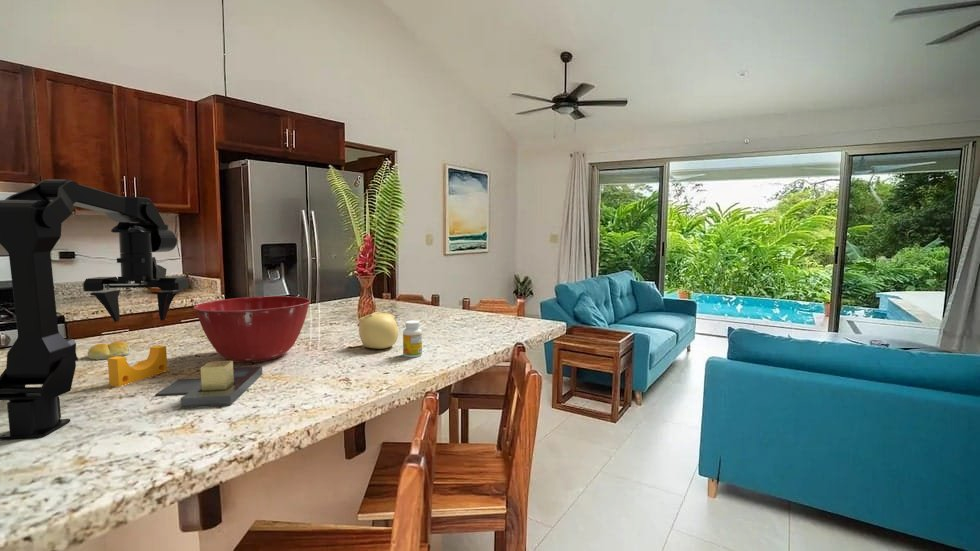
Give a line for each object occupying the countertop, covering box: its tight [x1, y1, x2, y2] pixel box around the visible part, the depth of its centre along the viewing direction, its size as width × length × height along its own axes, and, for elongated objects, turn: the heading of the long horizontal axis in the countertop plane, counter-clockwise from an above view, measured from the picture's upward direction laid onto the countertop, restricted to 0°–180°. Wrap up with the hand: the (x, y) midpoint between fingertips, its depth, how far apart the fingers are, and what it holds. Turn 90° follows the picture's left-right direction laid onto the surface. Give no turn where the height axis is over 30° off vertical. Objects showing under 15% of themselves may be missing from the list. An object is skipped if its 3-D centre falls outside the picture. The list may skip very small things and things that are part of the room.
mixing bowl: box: [193, 295, 311, 364], centre depth 124 cm, size 28×28×16 cm
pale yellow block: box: [200, 360, 234, 392], centre depth 94 cm, size 4×4×7 cm
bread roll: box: [87, 340, 131, 361], centre depth 123 cm, size 8×9×4 cm
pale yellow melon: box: [358, 311, 399, 349], centre depth 136 cm, size 12×12×11 cm
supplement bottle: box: [402, 320, 423, 358], centre depth 127 cm, size 5×5×10 cm
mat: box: [154, 377, 201, 397], centre depth 100 cm, size 10×10×1 cm
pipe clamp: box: [107, 345, 168, 387], centre depth 105 cm, size 12×4×6 cm, turn 169°
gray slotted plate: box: [180, 365, 263, 409], centre depth 98 cm, size 20×9×2 cm, turn 11°
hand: (140, 321), depth 102 cm, fingers open, 9 cm apart
